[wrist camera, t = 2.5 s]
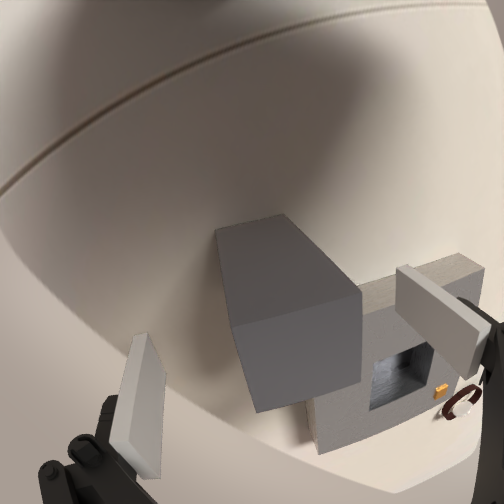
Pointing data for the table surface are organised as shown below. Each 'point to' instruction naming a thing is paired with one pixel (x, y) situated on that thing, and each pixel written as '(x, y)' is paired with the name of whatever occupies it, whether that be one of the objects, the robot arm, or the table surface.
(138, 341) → the robot arm
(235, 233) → the plug
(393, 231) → the table surface
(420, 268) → the socket
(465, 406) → the watch
